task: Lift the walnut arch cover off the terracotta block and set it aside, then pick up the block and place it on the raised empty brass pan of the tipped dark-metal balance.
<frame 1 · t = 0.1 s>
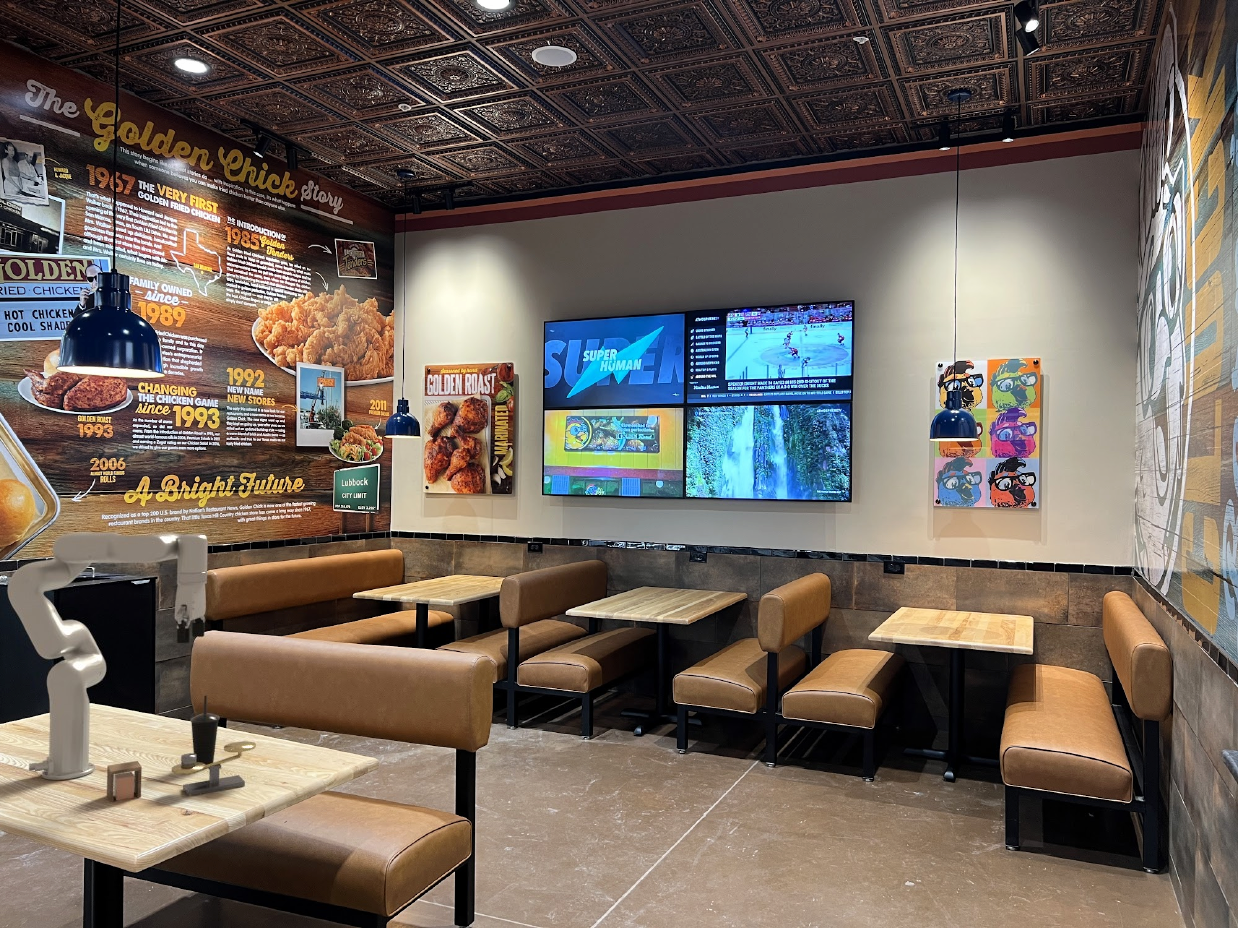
hand: (191, 639, 254), 37 cm above the table, tool pointing down, fingers open, 9 cm apart
arch: (123, 796, 235), on the table
block: (123, 796, 235), on the table
balance: (214, 787, 242), on the table
drinking cup: (204, 766, 260), on the table
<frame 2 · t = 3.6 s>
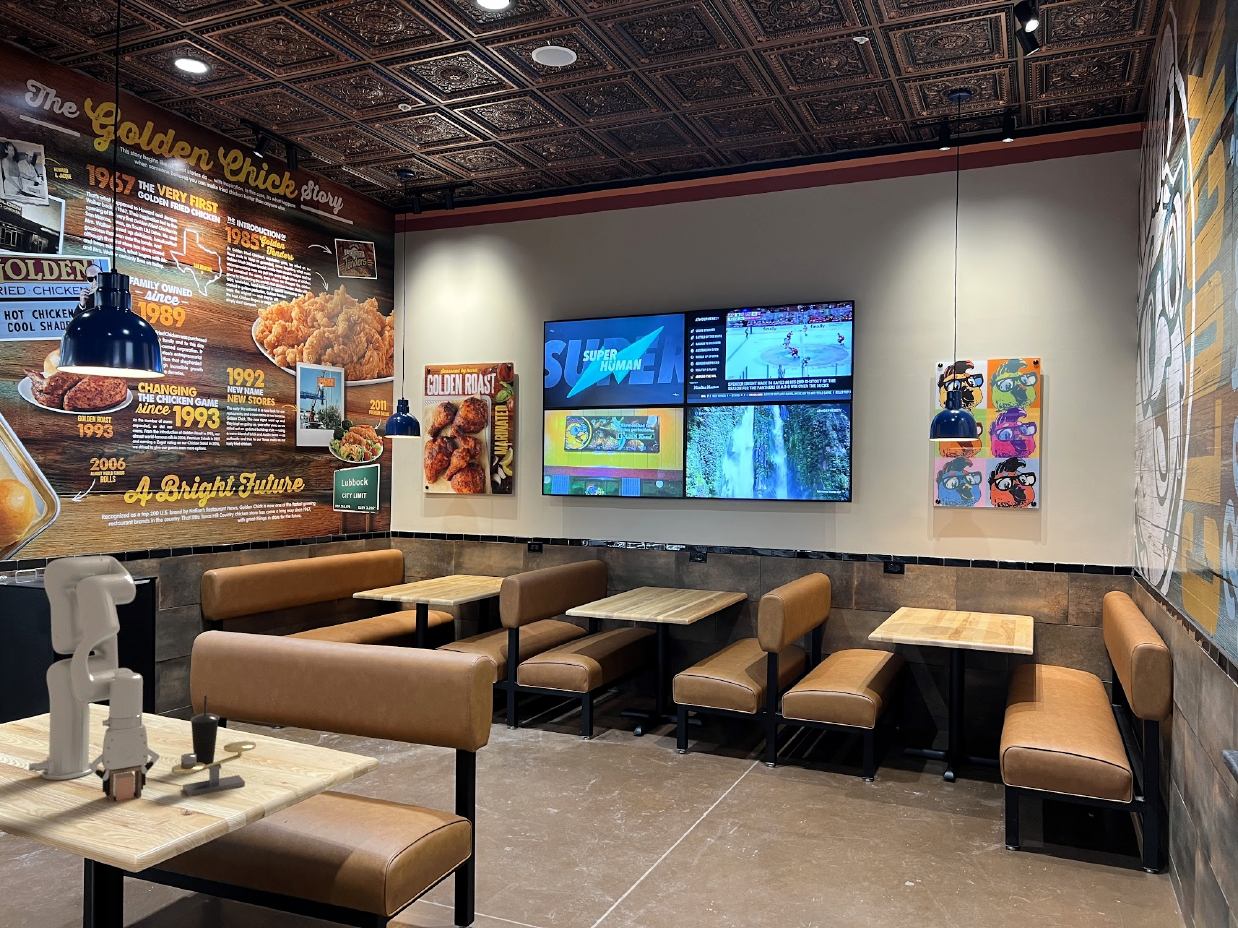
hand: (124, 790, 235), 1 cm above the table, tool pointing down, fingers closed on arch, 7 cm apart
arch: (124, 796, 235), on the table, touching gripper
everything else where it was.
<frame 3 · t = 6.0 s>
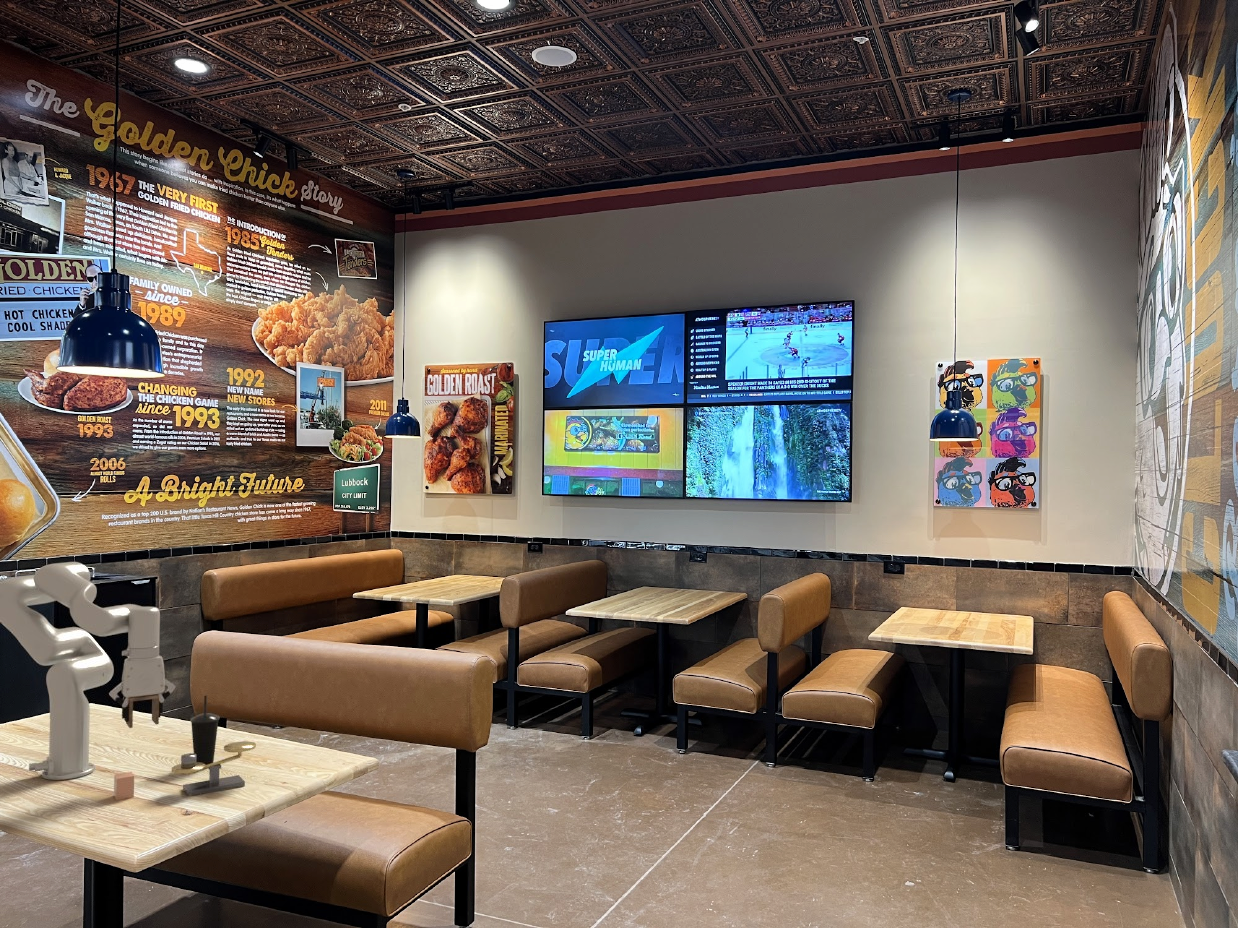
hand: (142, 718, 246), 17 cm above the table, tool pointing down, fingers closed on arch, 7 cm apart
arch: (142, 723, 246), point 16 cm above the table, touching gripper
everything else where it was.
when the fingers open (3 cm above the table, at t = 8.6 s): arch drops 1 cm, on the table.
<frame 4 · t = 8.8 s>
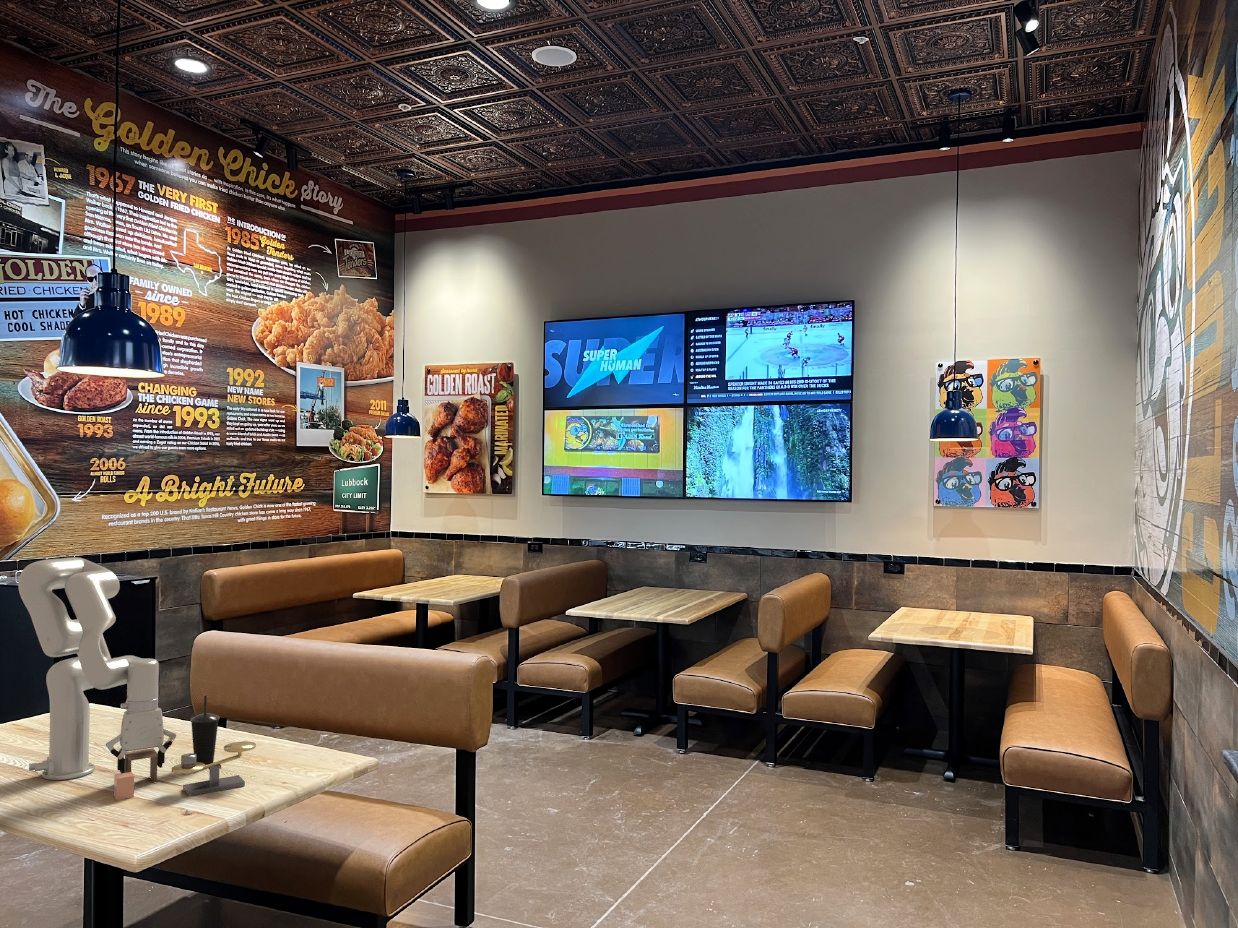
hand: (141, 769, 246), 3 cm above the table, tool pointing down, fingers open, 8 cm apart
arch: (140, 781, 246), on the table
everything else where it was.
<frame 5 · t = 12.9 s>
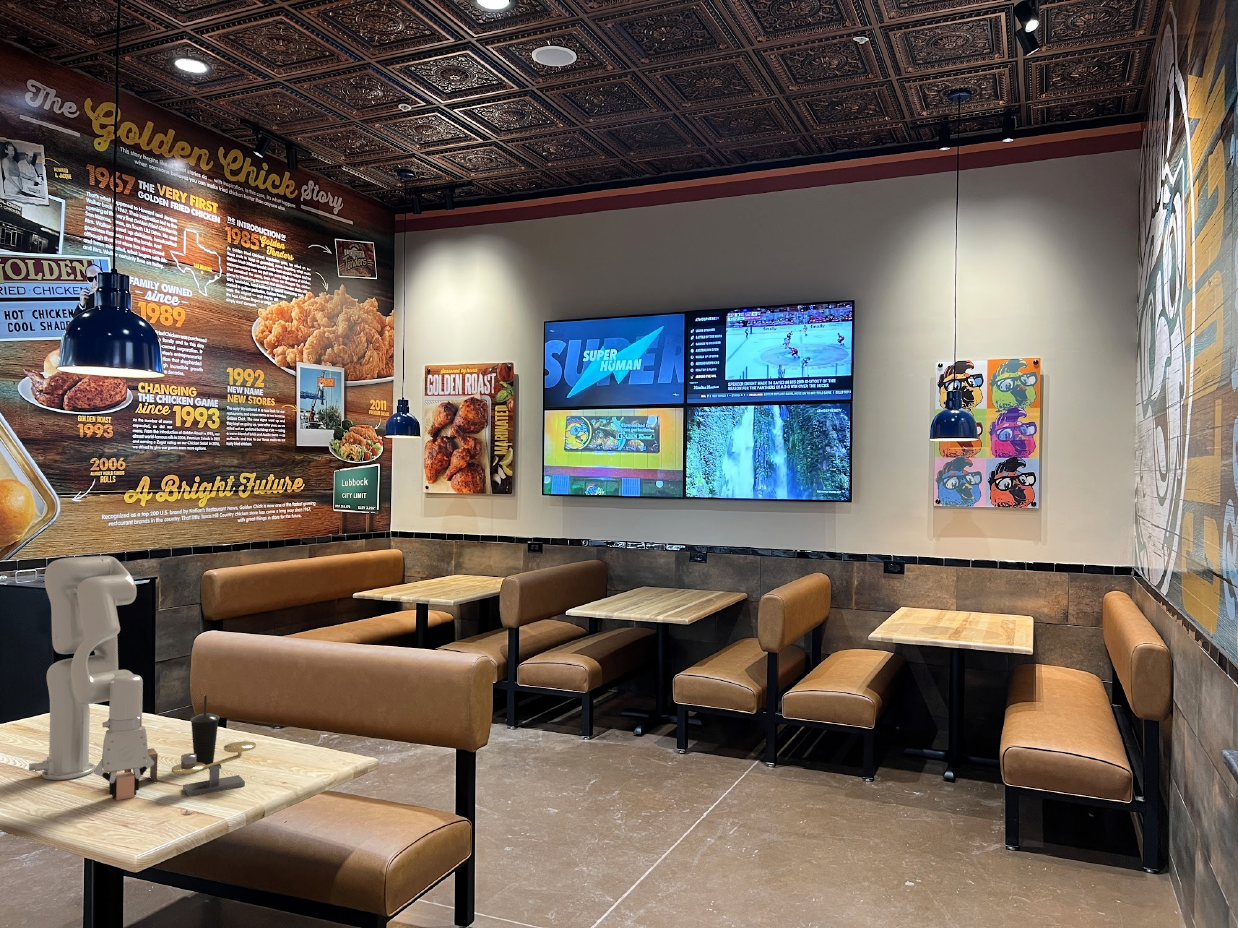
hand: (124, 794, 235), 1 cm above the table, tool pointing down, fingers closed on block, 3 cm apart
block: (124, 796, 234), on the table, touching gripper
everything else where it was.
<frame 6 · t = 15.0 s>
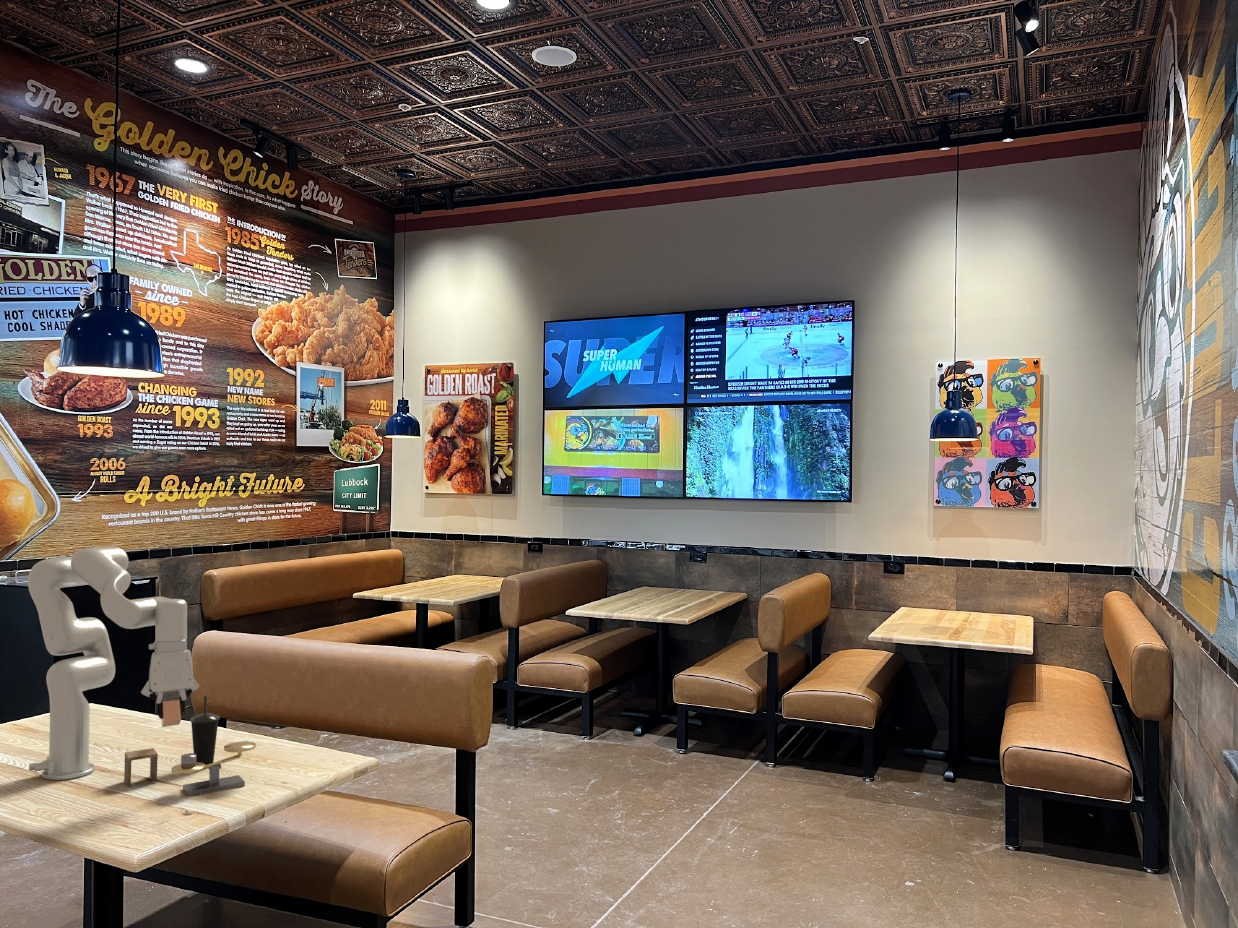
hand: (170, 715, 239), 20 cm above the table, tool pointing down, fingers closed on block, 3 cm apart
block: (171, 723, 237), point 18 cm above the table, tilted 30°, touching gripper
everything else where it was.
when the fingers open (13 cm above the table, at t = 17.5 s): block moves 2 cm and tips over, resting on balance.
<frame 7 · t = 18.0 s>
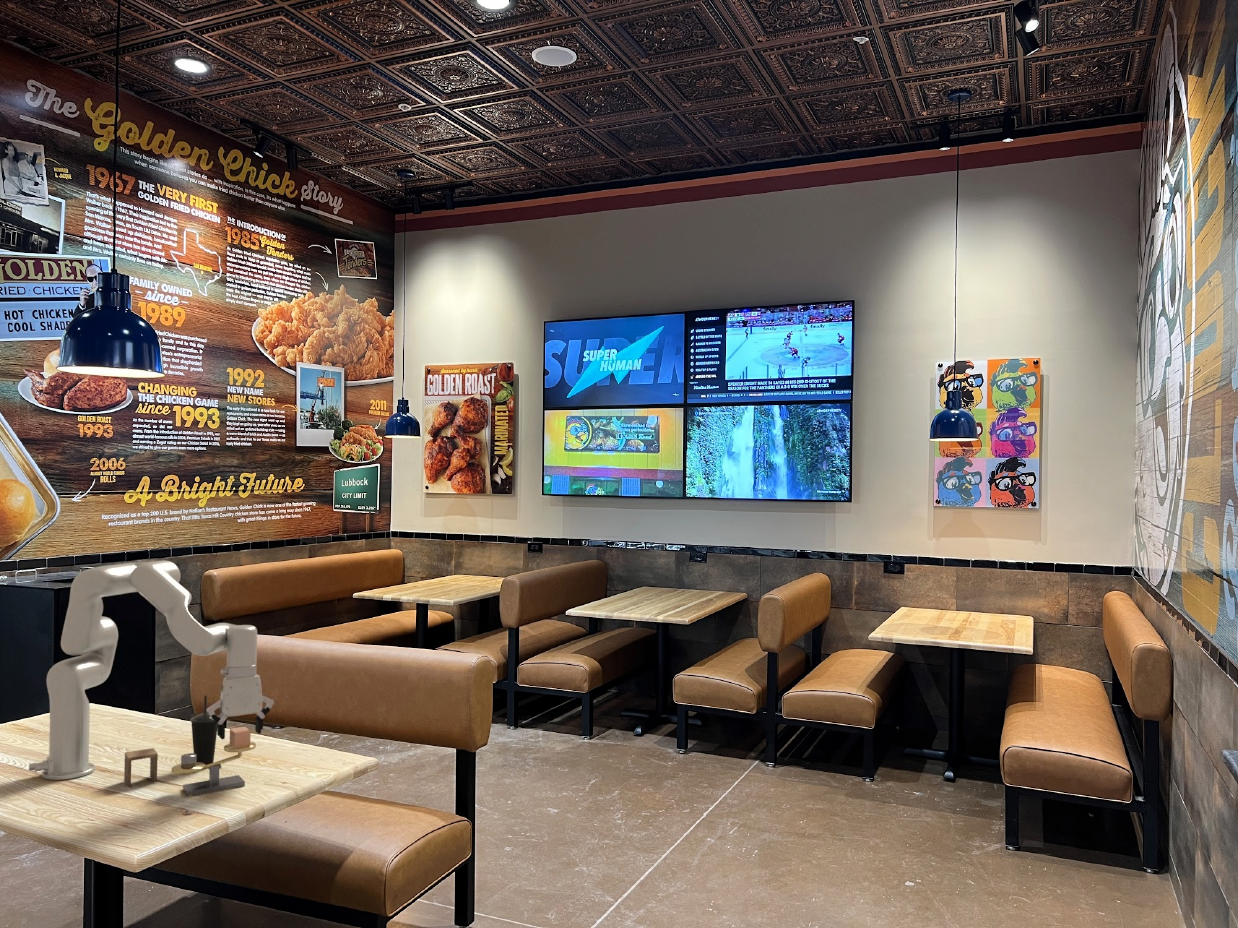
hand: (240, 735, 246), 13 cm above the table, tool pointing down, fingers open, 9 cm apart
block: (242, 739, 245), point 12 cm above the table, tilted 90°, touching balance
everything else where it was.
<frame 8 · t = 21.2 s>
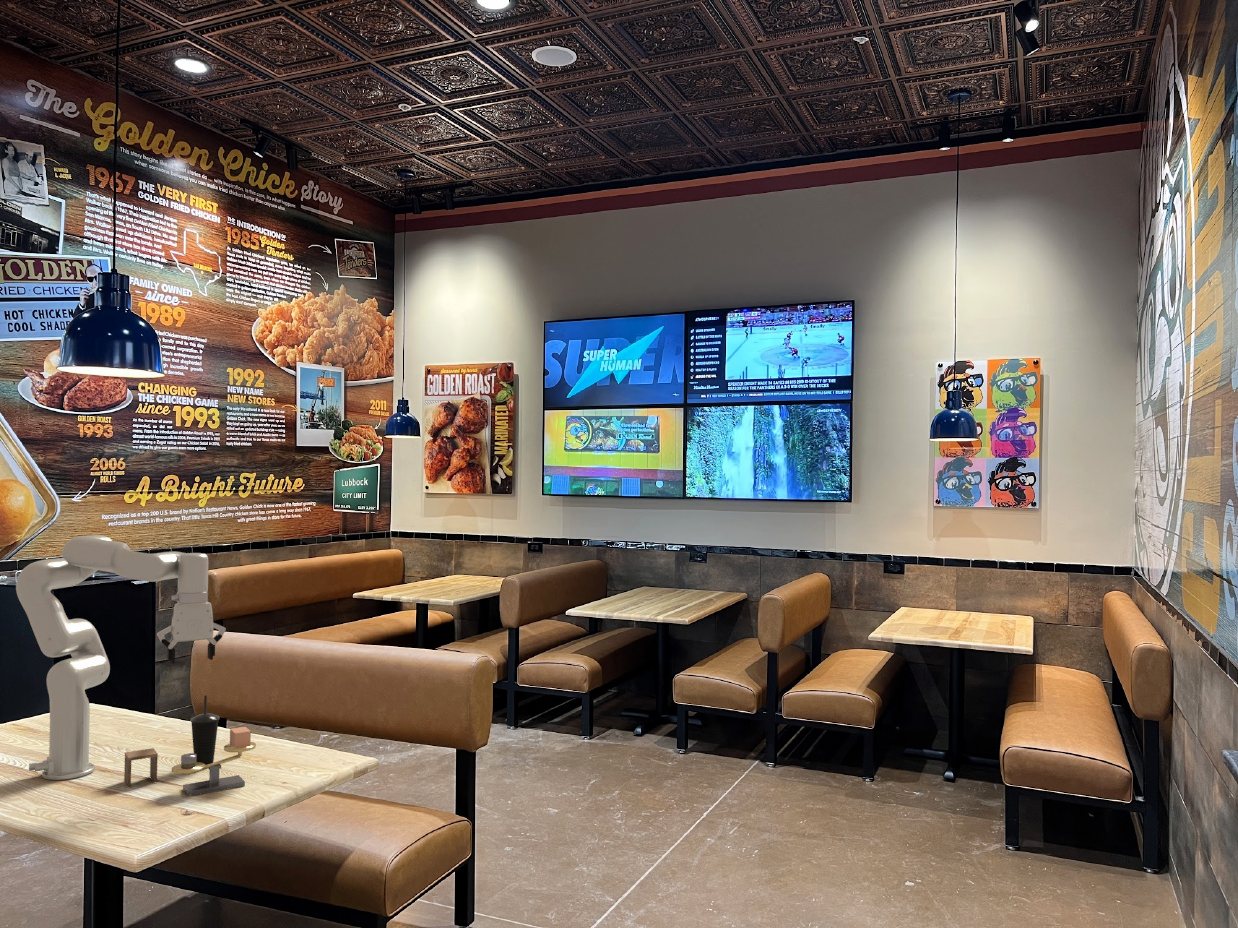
hand: (191, 660, 249), 32 cm above the table, tool pointing down, fingers open, 9 cm apart
nothing on the table moved.
at the end: block inside the target area on the balance (1.9 cm from its centre), point 12.1 cm above the balance's base; arch moved 11.4 cm from its start; the gripper is holding nothing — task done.
